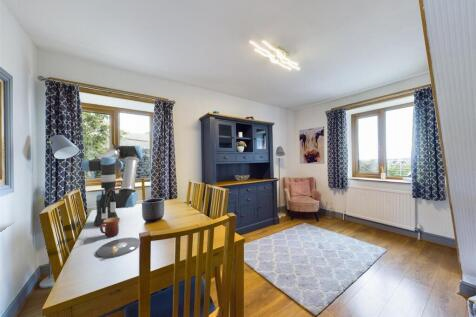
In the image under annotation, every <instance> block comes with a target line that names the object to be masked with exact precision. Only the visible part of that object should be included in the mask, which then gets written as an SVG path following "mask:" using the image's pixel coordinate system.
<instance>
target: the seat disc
mask: <svg viewBox="0 0 476 317" xmlns="http://www.w3.org/2000/svg"><path fill="white" fill-rule="evenodd" d="M139 240H140V239H139V238H138V237H137V238H136V237H122V238H117V239H115V240H110V241H108V242H106V243H104V244H102V245H101V246H100V247H99V248H98V249H97V251H96V254H97V256H98V257H100V258H103V259H104V258H105V259H110V258H111V259H112V258H118V257H122V256H125V255H127V254H129V253H132V252H133V251H136V250H137V249H138V248H139V247H140V246H139Z"/></svg>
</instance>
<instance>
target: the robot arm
mask: <svg viewBox="0 0 476 317" xmlns="http://www.w3.org/2000/svg"><path fill="white" fill-rule="evenodd" d="M143 154H144V153H143V149H142V147H141V146H140V145H118V146H115V147H112V148H109V149H108V150H107V151H106V152H105V153H103V154H101V155H98V156H96V157H95V158H93V159H85V160H82V162H81V165H80V167H81V170H82V171H83V172H90V173H91V172H100V181H101V183H100V188H101V189H104V190H101V193H98V194H97V195H96V199H95V200H96V201H95V202H96V216H95V218H94V220H93V226H94V227H95V226H96V227H100V226H101V225H102V224H104V222H103V221H104V220H106V219H109V218H114V217H118V218H119V216H118V215H117V211H116V210H117V209H126V208H127V209H129V208H134V207H135V206H136V204H137V202H138V198H139V197H138V196H139V195H138V194H139V193H138V192H137V191H136V189H135V184H136V183H135V182H136V176H137V167H138V164H139V162H140V161H141V160H142V159H143V156H144V155H143ZM122 160H124V162H125V166H124V163H123V161H122ZM123 168H124V172H123V177H122V184H121V188H120V189H118V192H116V186H117V185H116V182H117V181H116V179H117V178H116V176H117V175H116V172H118V171H120V170H122V169H123ZM103 227H105V225H104V226H103Z"/></svg>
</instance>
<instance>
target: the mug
mask: <svg viewBox="0 0 476 317" xmlns="http://www.w3.org/2000/svg"><path fill="white" fill-rule="evenodd" d="M120 219H121V218H120V217H119V216H118V217H114V218H109V219H106V220H104V221H103V222H104V224H102V225H101V226H99V231H100V233H101V234H104V235H105V238H114V237H117V236H118V235H119V233H120V229H119V228H120V227H119V223H120ZM104 225H105V226H104Z"/></svg>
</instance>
